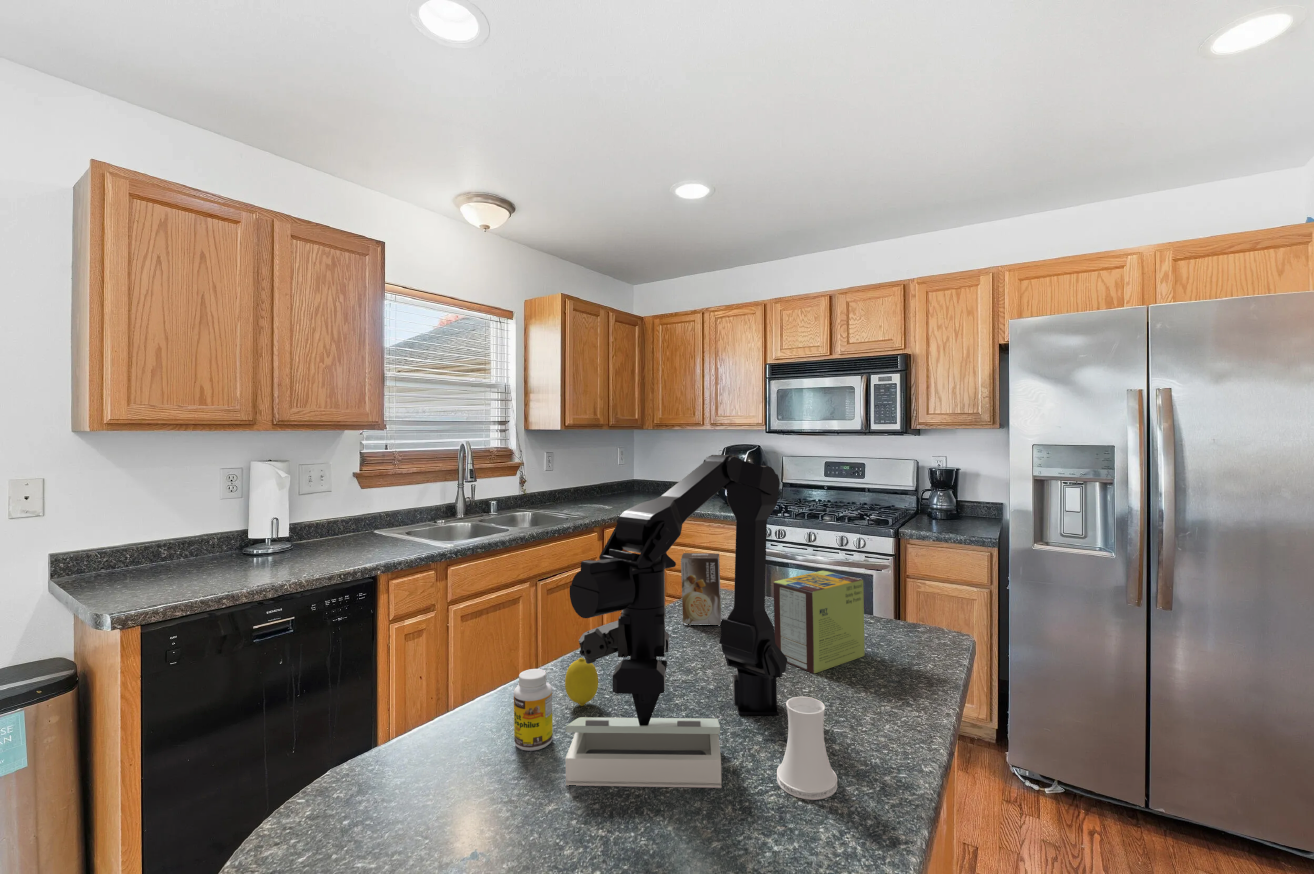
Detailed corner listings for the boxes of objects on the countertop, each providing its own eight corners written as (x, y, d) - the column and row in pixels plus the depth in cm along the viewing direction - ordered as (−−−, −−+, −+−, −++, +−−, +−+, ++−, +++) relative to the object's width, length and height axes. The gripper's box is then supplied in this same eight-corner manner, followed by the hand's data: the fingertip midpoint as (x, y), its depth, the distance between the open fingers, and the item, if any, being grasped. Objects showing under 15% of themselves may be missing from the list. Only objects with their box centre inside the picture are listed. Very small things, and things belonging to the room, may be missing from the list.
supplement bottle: (507, 749, 85) (505, 679, 85) (526, 731, 91) (525, 664, 91) (541, 755, 84) (540, 683, 84) (559, 735, 89) (558, 668, 89)
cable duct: (718, 749, 84) (717, 725, 84) (721, 787, 75) (721, 760, 75) (579, 748, 85) (578, 724, 85) (566, 785, 76) (565, 758, 76)
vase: (827, 807, 71) (826, 724, 71) (768, 788, 75) (766, 709, 75) (844, 775, 77) (842, 699, 77) (788, 760, 81) (787, 687, 81)
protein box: (866, 656, 118) (864, 578, 118) (814, 674, 110) (812, 591, 110) (824, 641, 127) (823, 569, 127) (773, 657, 118) (771, 580, 118)
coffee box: (722, 618, 144) (720, 552, 144) (720, 627, 138) (719, 558, 138) (684, 617, 146) (683, 552, 145) (681, 625, 139) (680, 557, 139)
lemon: (593, 714, 96) (592, 665, 96) (560, 711, 97) (559, 663, 97) (602, 699, 101) (602, 652, 101) (572, 697, 102) (571, 650, 102)
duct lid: (717, 724, 84) (717, 713, 85) (720, 733, 76) (719, 721, 76) (578, 723, 85) (579, 712, 86) (565, 732, 77) (566, 720, 77)
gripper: (594, 589, 89) (595, 695, 88) (570, 622, 70) (570, 756, 70) (668, 589, 88) (669, 696, 88) (663, 622, 70) (664, 758, 69)
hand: (644, 723), depth 78 cm, fingers closed
